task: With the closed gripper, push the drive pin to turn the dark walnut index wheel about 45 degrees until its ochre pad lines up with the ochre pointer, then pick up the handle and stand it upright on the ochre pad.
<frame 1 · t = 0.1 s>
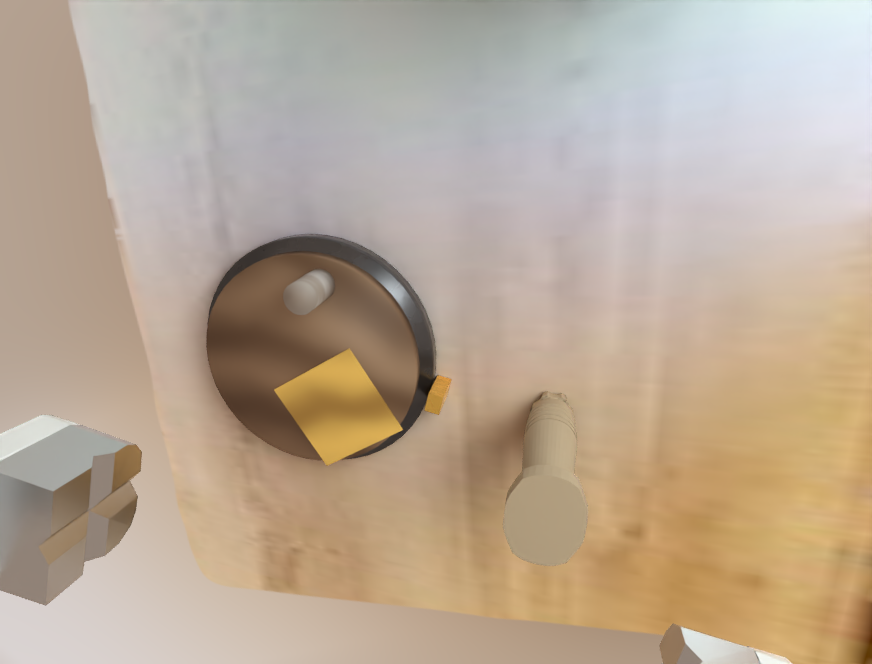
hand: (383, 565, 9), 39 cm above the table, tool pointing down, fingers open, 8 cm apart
handle: (552, 406, 50), on the table
wheel base: (322, 349, 52), on the table
index wheel: (301, 370, 48), point 5 cm above the table, hinge at 0.0°
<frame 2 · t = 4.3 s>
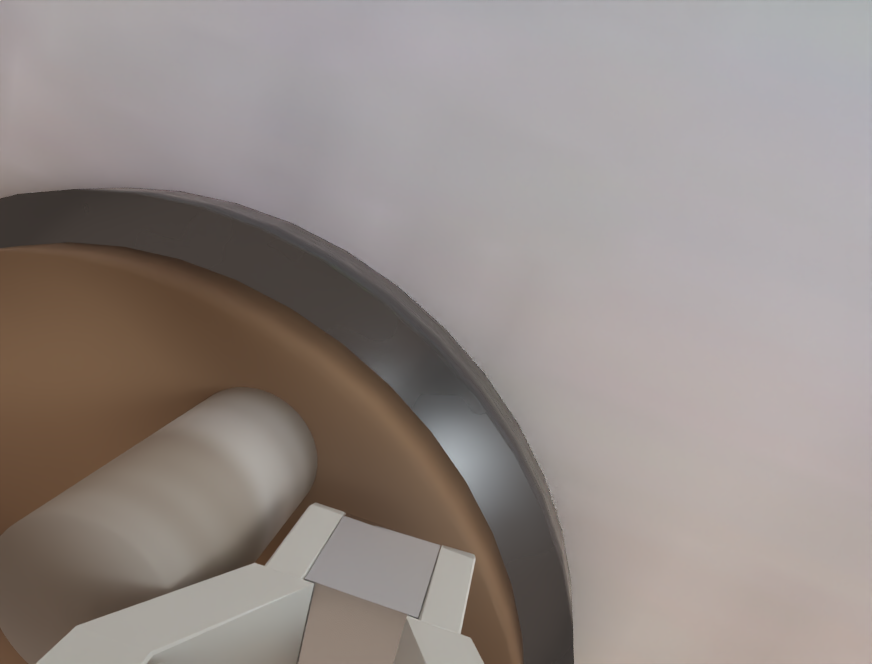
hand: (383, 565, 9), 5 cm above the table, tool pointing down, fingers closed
wheel base: (178, 582, 16), on the table
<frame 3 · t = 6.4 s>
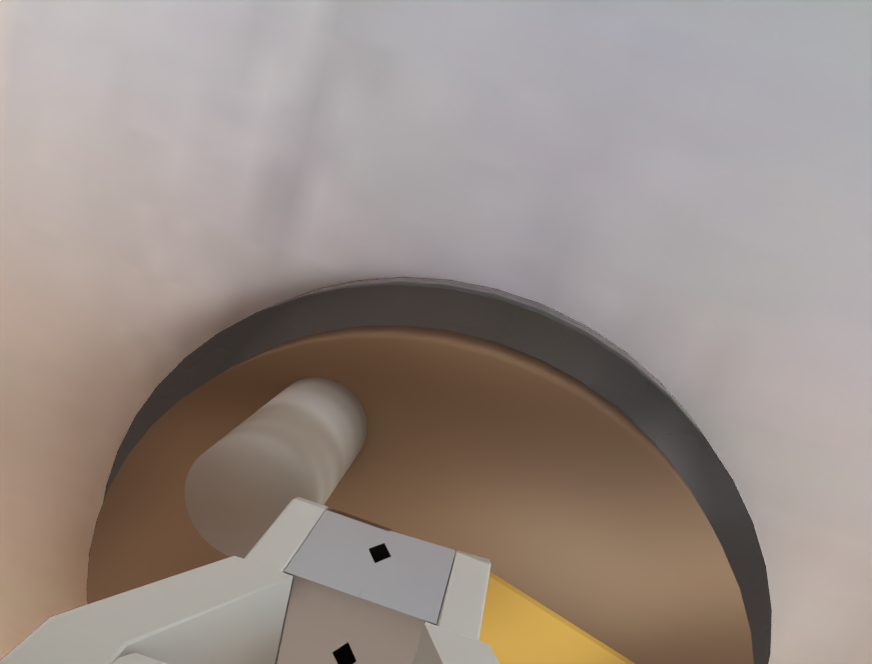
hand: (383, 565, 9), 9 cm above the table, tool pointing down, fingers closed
wheel base: (416, 588, 19), on the table
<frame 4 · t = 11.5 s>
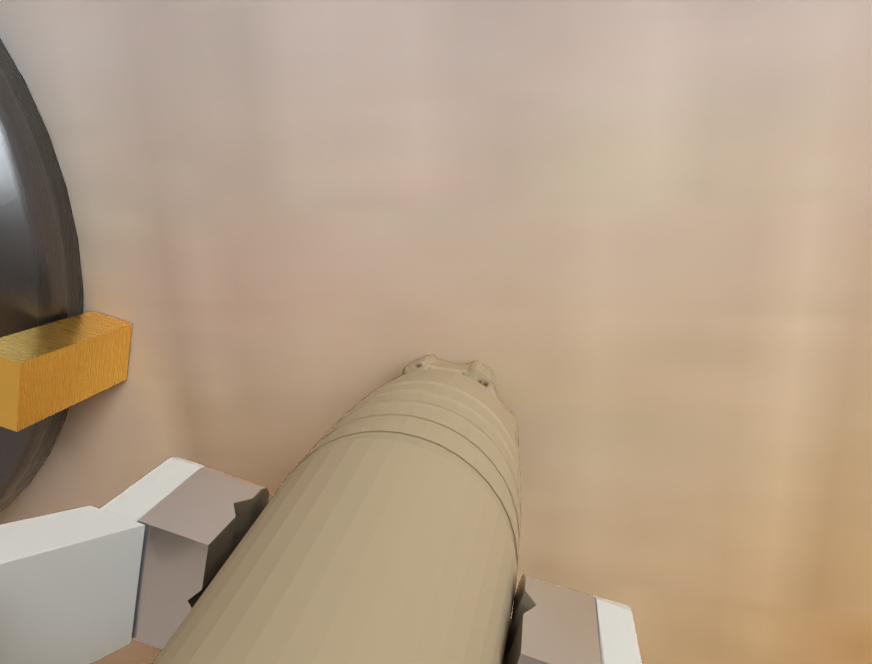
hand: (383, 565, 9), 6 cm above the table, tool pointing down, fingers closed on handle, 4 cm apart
handle: (452, 410, 15), on the table, touching gripper
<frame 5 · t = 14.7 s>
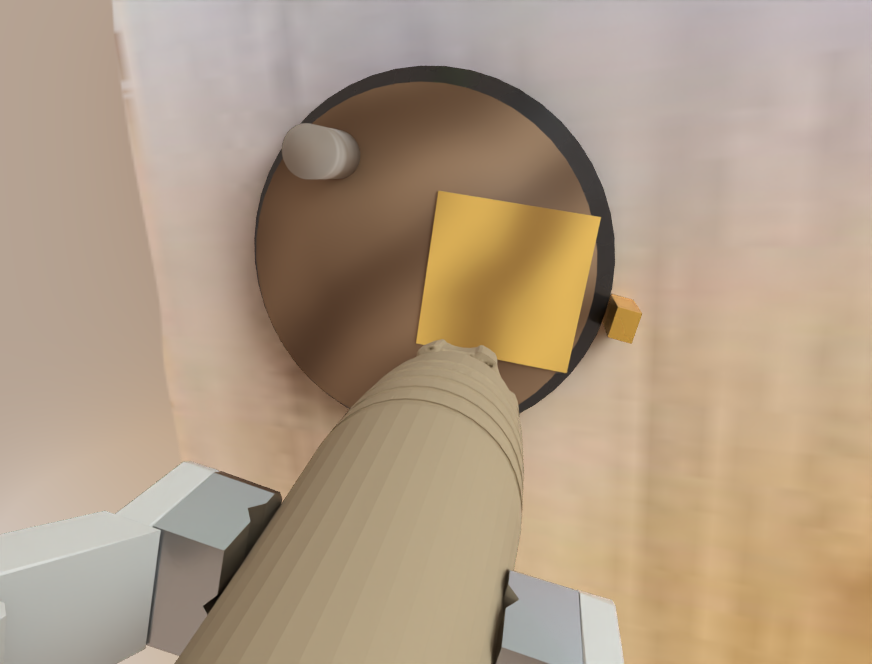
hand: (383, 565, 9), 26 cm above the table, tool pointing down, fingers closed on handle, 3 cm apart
handle: (458, 390, 17), point 18 cm above the table, touching gripper
wheel base: (430, 259, 35), on the table
index wheel: (413, 271, 30), point 5 cm above the table, hinge at 50.2°
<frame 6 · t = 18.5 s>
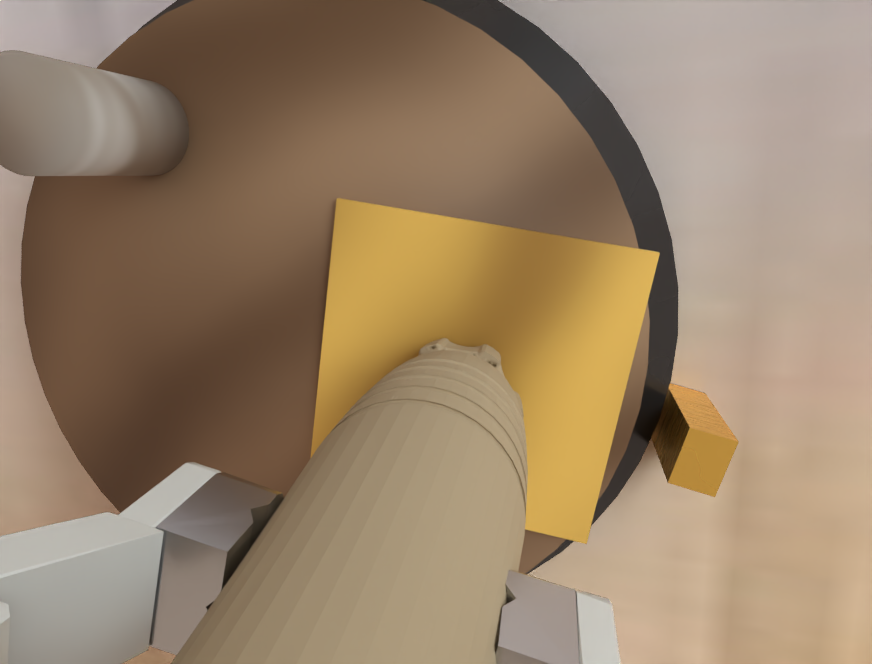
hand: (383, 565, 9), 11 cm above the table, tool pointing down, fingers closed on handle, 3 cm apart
handle: (461, 389, 16), point 3 cm above the table, touching gripper, index wheel
wheel base: (346, 315, 20), on the table
index wheel: (288, 354, 16), point 5 cm above the table, hinge at 50.1°, touching handle
when the fingers open (11 cm above the table, at t = 18.5 s): handle stays where it is, resting on index wheel.
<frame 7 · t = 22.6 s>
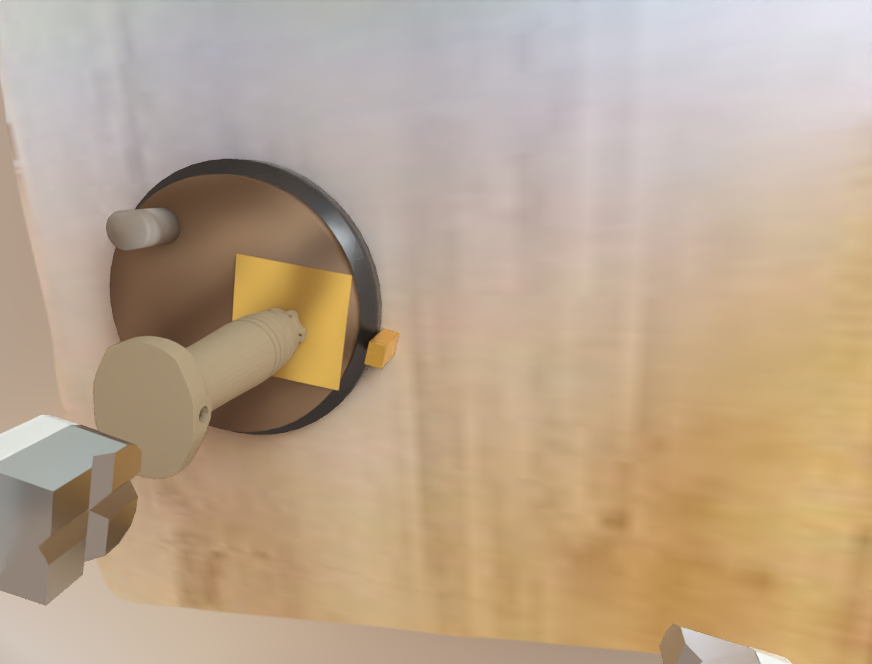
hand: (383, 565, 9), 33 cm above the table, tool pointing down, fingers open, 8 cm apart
handle: (287, 328, 41), point 3 cm above the table, touching index wheel
wheel base: (250, 300, 45), on the table
index wheel: (217, 313, 40), point 5 cm above the table, hinge at 50.1°, touching handle
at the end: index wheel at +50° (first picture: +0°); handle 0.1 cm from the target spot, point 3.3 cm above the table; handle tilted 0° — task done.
